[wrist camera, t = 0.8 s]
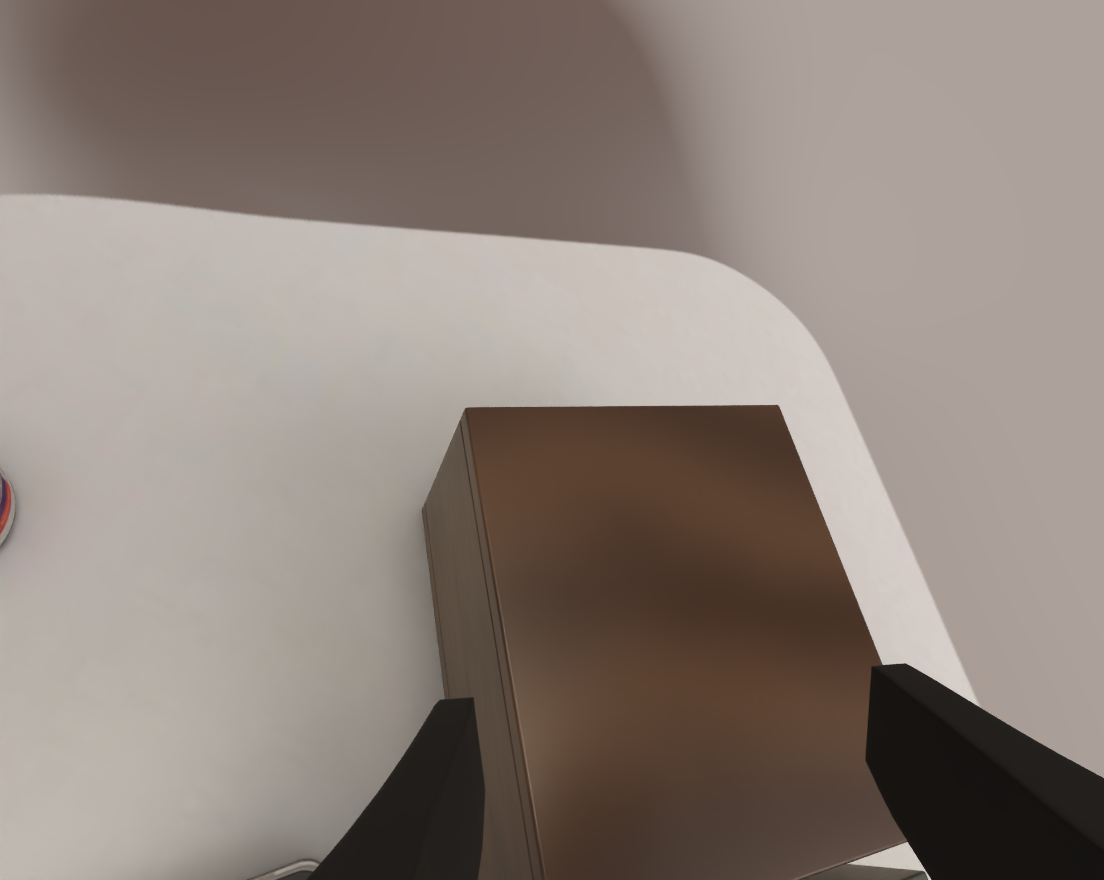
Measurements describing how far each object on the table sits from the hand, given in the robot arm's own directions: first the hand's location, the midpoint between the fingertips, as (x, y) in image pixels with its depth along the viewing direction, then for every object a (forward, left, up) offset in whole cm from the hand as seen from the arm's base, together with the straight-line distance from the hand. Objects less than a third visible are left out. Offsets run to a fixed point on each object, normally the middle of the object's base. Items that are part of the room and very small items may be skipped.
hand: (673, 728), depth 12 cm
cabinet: (+3, -5, -15) cm, 16 cm away
